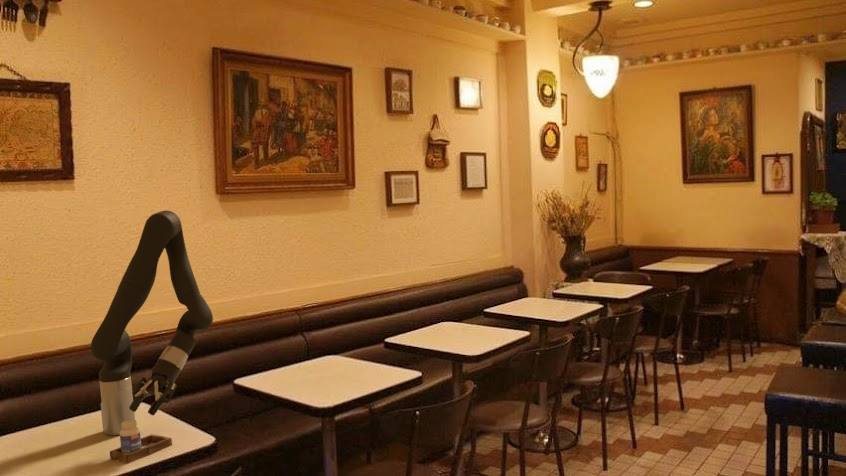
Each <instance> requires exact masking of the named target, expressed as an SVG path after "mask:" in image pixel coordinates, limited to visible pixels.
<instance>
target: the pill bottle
mask: <svg viewBox="0 0 846 476" xmlns="http://www.w3.org/2000/svg"><path fill="white" fill-rule="evenodd" d="M137 425H138V424H137V420H136V419H135V420H128V421H124V422H122V423H121V426H122V429H123V430H121V431H120V435H119V439H120V447H121V451H122V452H123V453H127V454H129V453H132V452H134V451H137V450H139V449H142V448H143V447H141V431H140V430H141V429H140V428H139V427H138V426H137Z"/></svg>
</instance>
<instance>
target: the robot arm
mask: <svg viewBox="0 0 846 476" xmlns="http://www.w3.org/2000/svg"><path fill="white" fill-rule="evenodd" d="M164 250H165V252H166V256H167V260H168V267H169V276H170V280H171V284H172V287H173V289H174V293H175V296H176V298H177V301H178V302H179V303H180V305H184V306H185V307H186V309H187V310H186V311H185V312H184V313H183V314H182V316H181V317H180V319H179V320H178V324H177V327H176V328H175V333H174V335H173V337H172V338H171V340H170V342H169V343H168V345H167V347H165V349H164V350H163V351H162V353H161V354H160V356H159V358H158V359H157V361H156V363H155V364H154V366H153V368H152V369H151V372H150V373H151V376H150V377H149V378H146V377H145V376H143V377H142V378H141V379H140V380H139V382H138V383H137V385H136V387H135V388H134V389H133V385H132V376H131V370H132V366H133V359H132V358H133V357H132V356H133V353H132V351H133V350H132V342H131V338H130V335H129V333H128V332H127V330H126V328H127V327H128V325H129V323H130V322H131V320H132V319H133V318H134V317H135V316H136V314H137V313H138V312H139V310H140V309H141V308H142V307H143V306H144V304H145V302H146V301H147V299H148V297H149V295H150V293H151V290H152V288H153V287H154V284H155V282H156V281H155V280H156V277H157V269H158V263H159V260H160V258H161V255H162V254H163V252H164ZM187 251H188V250H187V248H186V243H185V238H184V231H183V226H182V222H181V219H180V217H179V215H178V214H176V212H173V211H172V210H161V211H158V212H155V213H154V214H151V215H150V216H149V217H148V218H147V219H146V220H145V223H144V226H143V230H142V232H141V236H140V239H139V242H138V246H137V248H136V250H135V252H134V254H133V256H132V258H131V259H130V262H129V263H128V266H127V267H126V270H125V272H124V273H123V275H122V278H121V281H120V283H119V285H118V287H117V289H116V292H115V294H114V297H113V298H112V300H111V303H110V305H109V308H108V310H107V313H106V315H105V316H104V319H103V321H102V322H101V323H100V325H99V327H98V329H97V330H96V332H95V334H94V335H93V337H92V340H91V342H90V350H91V351H90V352H91V355H92V356H93V357H94V358H95V359H97V360H98V361H103V365H102V367H101V369H100V370H99V372H98V378H99V380H98V381H99V388H100V389H99V391H100V399H101V403H100V412H101V421H102V423H101V424H102V431H103V433H104V434H105V435H106V436H118V435H119V436H120V431H121V430H123V429H122V426H121V423H122V422H124V421H128V420H136V417H135V412H137V410H138V408H139V407H140V406H141V403H142V402H143V401H144V399H146V398H149V397H151V396H155V397H154V398H155V400H154V401H153V402H152V404H151V405H150V406H149V408H148V410H147V413H148V414H149V415H150V416H155V415H156V414H157V412H158V410H159V409H160V407H161V406H162V405H164V404H168V403H169V402H170V401H171V398H172V397H173V395H174V393H175V391H176V389H177V388H178V385H177V384H176V383H175V382H176V380H177V378H178V376H179V374H180V373H181V372H182V369H183V368H184V367H185V365H186V363H187V361H188V358H189V357H190V355H191V353H192V351H193V350H194V348H195V347H196V338H195V335H196V333H197V331H207V330H208V329H210V327H211V326H212V324H213V320H214V317H213V312H212V310H211V308H210V306H209V305H208V302H207V301H206V300H205V298H204V297H203V295H202V294H201V292H200V289H199V286H198V284H197V281H196V278H195V275H194V274H195V273H194V272H193V269H192V267H191V263H190V259H189V255H188V252H187ZM166 396H167V397H166Z"/></svg>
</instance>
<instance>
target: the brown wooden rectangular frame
mask: <svg viewBox="0 0 846 476" xmlns="http://www.w3.org/2000/svg"><path fill="white" fill-rule="evenodd" d="M172 440H173V438H172V437H168V436H164V435H163V436H162V435H159V434H152V433H151V434H149V435H146V436H143V437H142V438H141V447H142V449H139V450H137V451H134V452H132V453H129V454H127V453H123V452H122V451H121V446H120V447H117V448H115V449H112V450H110V451H109V458H110V460H113V459H114V460H113V461H117V460H119V461H118V462H121V461H123V463H126V462H127V463H126V464H130V463H132V462H135V461H137V460H139V459H143V458H144V457H147V456H150V455H152V454H154V453H157V452H159V451H162V450H164V449H166V448H168V447H171V446H172V445H173V441H172ZM129 462H130V463H129Z"/></svg>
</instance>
